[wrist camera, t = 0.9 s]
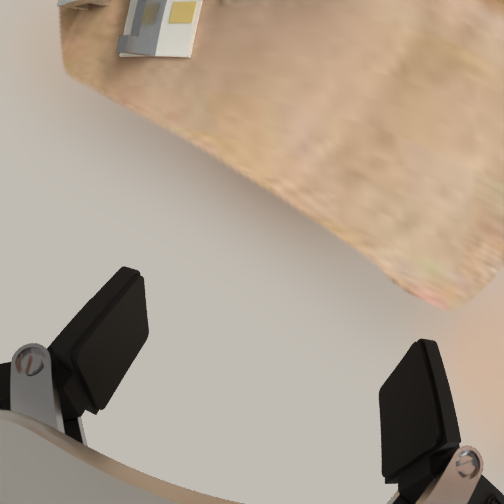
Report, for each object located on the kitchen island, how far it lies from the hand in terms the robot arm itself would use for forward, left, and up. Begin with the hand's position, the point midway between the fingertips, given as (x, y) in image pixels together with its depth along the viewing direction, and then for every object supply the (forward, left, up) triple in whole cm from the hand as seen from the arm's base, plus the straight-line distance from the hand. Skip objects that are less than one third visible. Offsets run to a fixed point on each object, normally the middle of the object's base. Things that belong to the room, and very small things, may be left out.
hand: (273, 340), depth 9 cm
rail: (-19, -21, -28) cm, 40 cm away
